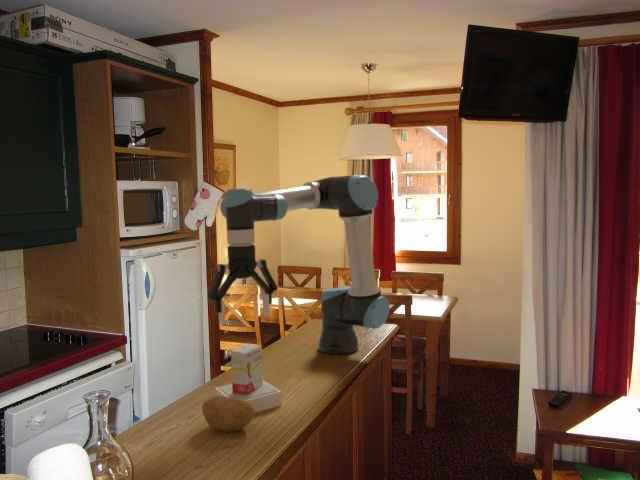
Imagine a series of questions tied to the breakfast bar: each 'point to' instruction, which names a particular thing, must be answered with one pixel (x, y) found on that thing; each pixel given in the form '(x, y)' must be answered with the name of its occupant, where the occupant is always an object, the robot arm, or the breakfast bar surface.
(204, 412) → the potato
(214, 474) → the breakfast bar surface
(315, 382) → the breakfast bar surface
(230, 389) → the block
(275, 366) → the breakfast bar surface
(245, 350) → the ink box
